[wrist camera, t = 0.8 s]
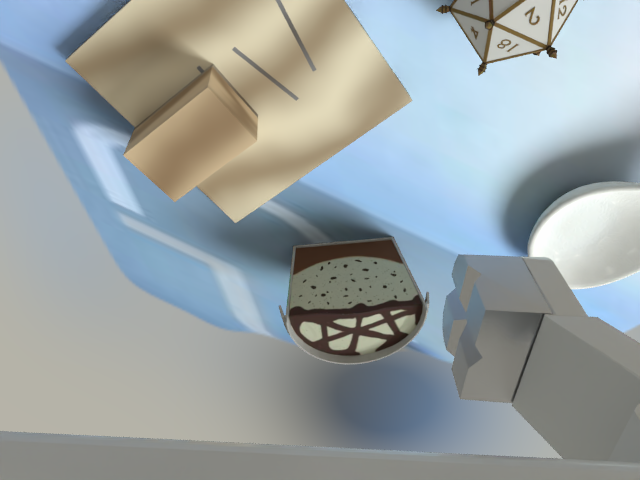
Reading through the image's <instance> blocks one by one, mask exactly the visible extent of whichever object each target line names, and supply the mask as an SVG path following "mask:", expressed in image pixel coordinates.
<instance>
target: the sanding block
mask: <svg viewBox="0 0 640 480" xmlns="http://www.w3.org/2000/svg"><path fill="white" fill-rule="evenodd" d="M257 131H258V114H257V113H256V112H255V111H254V109H253V108H252V107H251V106H250V105H249V104H248V103H247V102H246V100H245V99H244V98H243V97H242V96H241V95H240V94H239V93H238V91H237V90H236V89H235V88H234V87H233V86H232V85H231V83H230V82H229V81H228V80H227V79H226V78H225V77H224V76H223V74H222V73H221V72H220V71H219V70H218V69H217V68H216V67H215V65H214V64H212V65H211V66H210V67H208V68H207V69H206V70H205V71H204V72H202V73H201V74H200V75H199V76H197V77H196V78H195V79H194V80H192V81H191V82H190V83H189V84H188V85H186V86H185V87H184V88H183V89H181V90H180V91H179V92H178V93H177V94H175V95H174V96H173V97H172V98H170V99H169V100H168V101H167V102H166V103H164V104H163V105H162V106H161V107H159V108H158V109H157V110H156V111H155V112H153V113H152V114H151V115H150V116H148V117H147V118H146V119H145V120H144V121H142V122H141V123H140V124H139V125H137V126H136V127H135V129H134V131H133V133H132V136H131V138H130V141H129V143H128V145H127V148H126V150H125V152H124V156H125V157H126V158H127V159H128V160H129V161H130V162H131V163H132V164H133V165H135V166H136V167H137V168H138V169H139V170H140V171H141V172H142V173H143V174H144V175H146V176H147V177H148V178H149V179H150V180H151V181H152V182H153V183H154V184H156V185H157V186H158V187H159V188H160V189H161V190H162V191H163V192H164V193H165V194H167V195H168V196H169V197H170V198H171V199H172V200H173V201H174V202H175V201H177V200H178V199H179V198H181V197H182V196H184V195H185V194H186V193H188V192H189V191H190V190H192V189H193V188H194V187H196V186H197V185H198V184H200V183H201V182H202V181H204V180H205V179H207V178H208V177H209V176H211V175H212V174H213V173H215V172H216V171H217V170H219V169H220V168H221V167H223V166H224V165H225V164H227V163H228V162H230V161H231V160H232V159H234V158H235V157H236V156H238V155H239V154H240V153H242V152H243V151H244V150H246V149H247V148H248V147H250V146H251V145H253V144H254V143H255V142H257Z"/></svg>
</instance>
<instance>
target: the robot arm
mask: <svg viewBox="0 0 640 480" xmlns="http://www.w3.org/2000/svg"><path fill="white" fill-rule="evenodd" d="M452 278H453V281H454V284H455V287H456V288H455V289H454V290H453V291H452V292H451V293H450V294H449V295H447V297H446V301H445V306H444V311H443V337H444V342H445V346H446V350H447V351H449V352H450V353H451V354H452V355H453V356H454V357H455V358H454V361H453V365H452V372H453V376H454V379H455V383H456V386H457V390H458V393H459V397H460V399H465V400H479V401H490V402H503V403H513V404H512V406H513V407H514V408H515V409H516V410H517V411H518V412H519V413H520V414H521V415H522V416H523V417H524V419H525V420H526V421H527V422H528V423H529V424H530V425H531V426H532V427H533V428H534V429H535V430H536V431H537V432H538V433H539V434H540V435H541V436H542V437H543V438H544V439H545V440H546V441H547V442H548V443H549V444H550V445H551V446H552V447H553V449H554V450H555V451H557V453H558V454H559V455H560V456H561V457H562V458H563V459H557V458H555V459H554V458H536V457H513V456H492V455H472V454H452V453H432V452H412V451H411V452H410V451H392V450H373V449H352V448H333V447H332V448H331V447H313V446H293V445H292V446H291V445H272V444H253V443H234V442H214V441H192V440H172V439H150V438H130V437H110V436H88V435H68V434H67V435H66V434H47V433H46V434H45V433H27V432H7V431H0V480H640V343H638V342H637V341H636V340H634V339H632V338H631V337H629V336H627V335H626V334H624V333H622V332H621V331H619V330H617V329H616V328H614V327H613V326H611V325H609V324H608V323H606V322H604V321H603V320H601V319H599V318H598V317H588V316H587V314H586V313H585V311H584V309H583V308H582V306H581V305H580V303H579V301H578V300H577V298H576V297H575V295H574V294H573V292H572V290H571V289H570V287H569V286H568V284H567V282H566V281H565V279H564V278H563V276H562V274H561V273H560V271H559V270H558V268H557V266H556V265H555V263H554V262H553V260H551V259H549V258H547V257H513V256H487V255H458V257H457V259H456V261H455V264H454V267H453V271H452Z"/></svg>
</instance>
